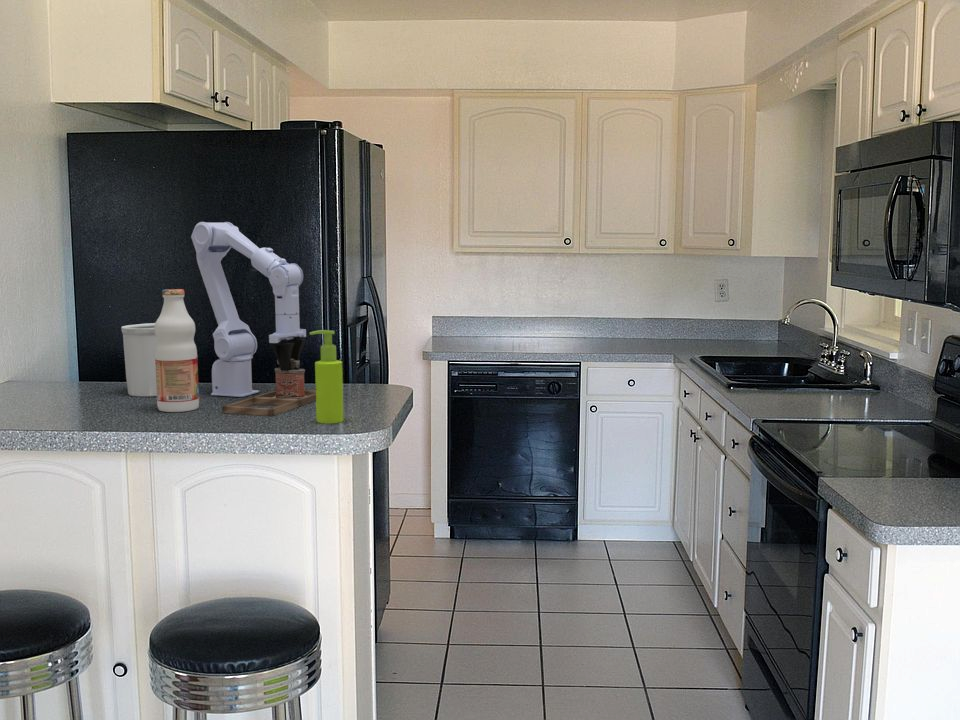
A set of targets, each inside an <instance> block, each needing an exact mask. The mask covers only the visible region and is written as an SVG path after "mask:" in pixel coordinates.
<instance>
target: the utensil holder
mask: <svg viewBox="0 0 960 720" xmlns="http://www.w3.org/2000/svg"><path fill="white" fill-rule="evenodd" d="M155 323H156V322H153V323H152V322H151V323H149V322H148V323H147V322H146V323H139V324H128V325H123V326H121V327H120V328H121V333H122V339H123V340H122V341H123V351H124V352H123V354H124V364H125V366H124V367H125V379H126V387H127V394H128V395H129V396H133V397H147V398H148V397H157V387H156V365H155V347H156V344H157V338H156V335H155V330H154V328H155Z"/></svg>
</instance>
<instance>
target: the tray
mask: <svg viewBox="0 0 960 720" xmlns="http://www.w3.org/2000/svg"><path fill="white" fill-rule="evenodd" d="M304 391H305V397H303V398H300V399H288V398H276V389H274V390H271V391H268V392H265V393H262V394H258V395H255V396H252V397H248V398H245V399H241V400H239V401H235V402H232V403H229V404H225V405H222V406H221V413H222V414H223V413H224V414H232V415H233V414H235V415H247V416H248V415H251V416H266V417H274V416H276V415H279V414H282V413H285V412H288V411H291V410H293V409H298V408H299V407H303V406H305V405H308V404H310V403H314V402H316V390H308V389H307V390H306V389H304ZM253 405H260V406H261V405H263V406H274V407H271V408H264V407H254V406H253ZM249 406H250V407H249ZM251 406H253V407H251Z"/></svg>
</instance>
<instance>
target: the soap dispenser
mask: <svg viewBox="0 0 960 720" xmlns="http://www.w3.org/2000/svg"><path fill="white" fill-rule="evenodd" d="M308 333H309V335H310V336H312V335H319V334H322V335H323V341H324V343H323V344H322V345H320V360H317V361H315V362H314V371H315V372H314V373H315V374H314V375H315V378H314V380H315V391H316V401H315V411H316V412H315V413H316V415H315V416H316V419H315V420H316V422H317V423H319V424H338V423H341V422H344V381H343V378H344V377H343V373H344V372H343V361H342V360H338V359H337V346H336V345H335V344H333V335H335V330H330V329H329V330H327V329H319V330H314V331H310V332H308Z"/></svg>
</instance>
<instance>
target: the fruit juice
mask: <svg viewBox="0 0 960 720" xmlns="http://www.w3.org/2000/svg"><path fill="white" fill-rule="evenodd" d="M161 293H162V298H163V305H162V308H161V312H160V315H159V316H158V318H157V319H156V321H155V322H154V323H155V328H154V330H155V335H156V338H157V344H156V347H155V365H156V387H157V396H156V405H157V409H158V411H160V412H163V413H166V412H167V413H183V412H191V411H193V410H194V411H195V410H197V409H199V406H200V392H199V390H200V389H199V367H198V349H197V345H196V343H195V340H194V339H195V334H196V323H195V321H194V319H193V318H192V317H191V316H190V315H189V312H188V310H187V308H186V304H185V301H184V298H185V290H184V289H182V288H181V289H180V288H177V289H175V288H171V289H162V292H161Z"/></svg>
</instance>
